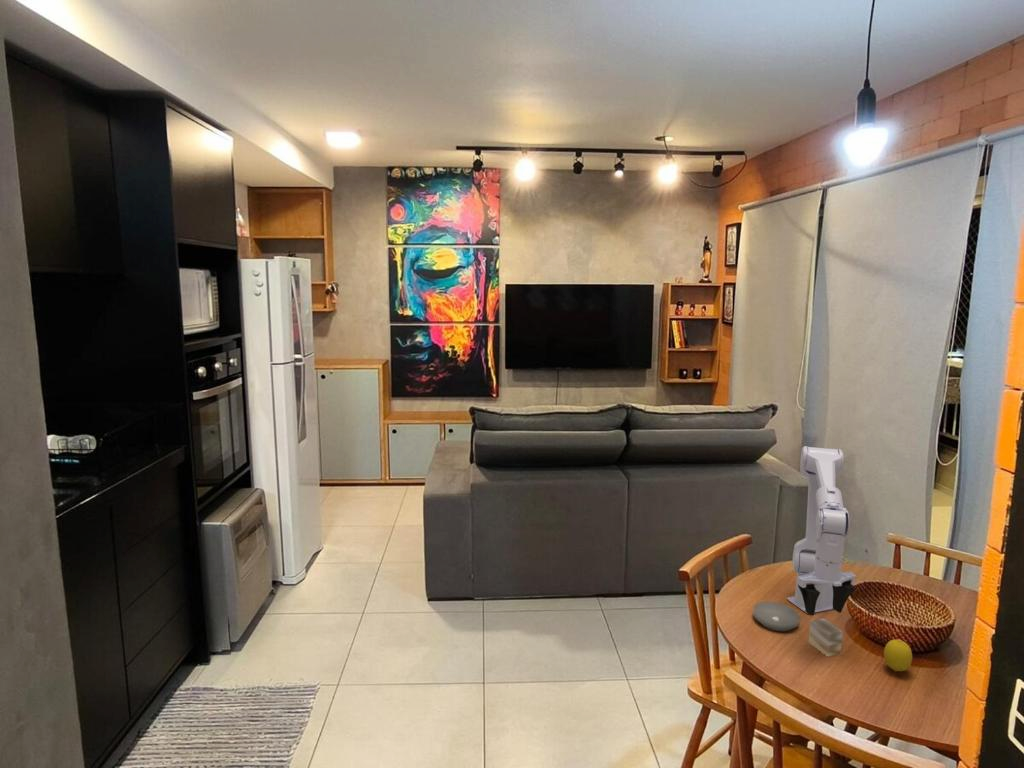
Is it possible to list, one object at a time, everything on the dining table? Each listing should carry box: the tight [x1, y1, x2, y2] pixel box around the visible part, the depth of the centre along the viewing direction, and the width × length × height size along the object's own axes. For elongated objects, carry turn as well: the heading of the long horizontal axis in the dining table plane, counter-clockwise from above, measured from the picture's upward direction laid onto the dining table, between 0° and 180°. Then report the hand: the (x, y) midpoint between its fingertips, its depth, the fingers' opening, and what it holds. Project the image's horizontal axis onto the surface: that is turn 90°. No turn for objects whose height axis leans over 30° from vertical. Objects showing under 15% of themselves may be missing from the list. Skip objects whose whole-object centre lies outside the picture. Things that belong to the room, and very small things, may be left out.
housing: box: [808, 617, 844, 657], centre depth 151 cm, size 4×6×6 cm, turn 17°
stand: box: [752, 601, 800, 632], centre depth 162 cm, size 11×11×2 cm
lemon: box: [883, 638, 913, 673], centre depth 142 cm, size 6×6×8 cm
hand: (823, 612), depth 149 cm, fingers open, 7 cm apart
